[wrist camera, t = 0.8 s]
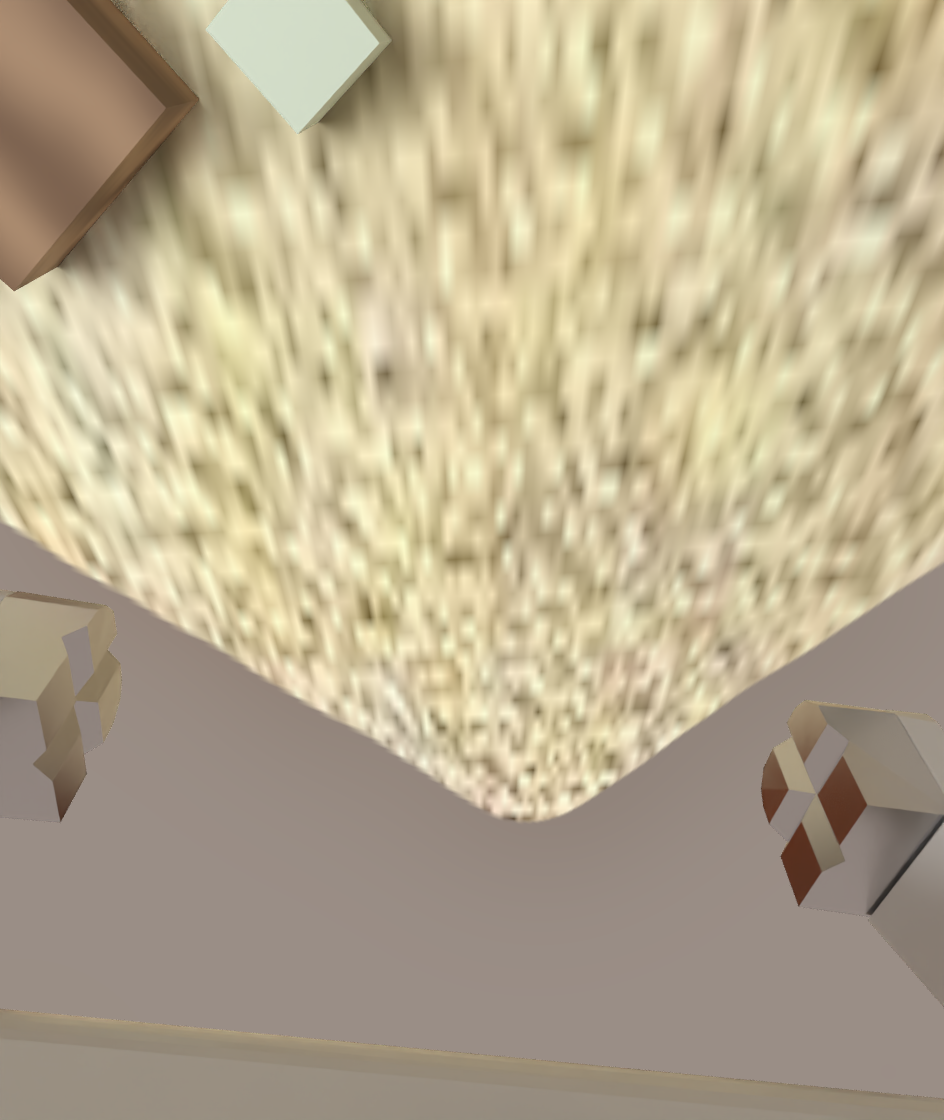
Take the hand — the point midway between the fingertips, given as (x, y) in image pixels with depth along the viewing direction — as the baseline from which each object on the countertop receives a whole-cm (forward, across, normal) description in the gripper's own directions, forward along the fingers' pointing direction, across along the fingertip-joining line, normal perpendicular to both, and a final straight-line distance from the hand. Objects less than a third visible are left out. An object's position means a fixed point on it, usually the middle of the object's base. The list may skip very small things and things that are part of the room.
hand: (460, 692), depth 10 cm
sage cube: (+37, +8, -5) cm, 38 cm away
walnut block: (+37, +22, -1) cm, 43 cm away
